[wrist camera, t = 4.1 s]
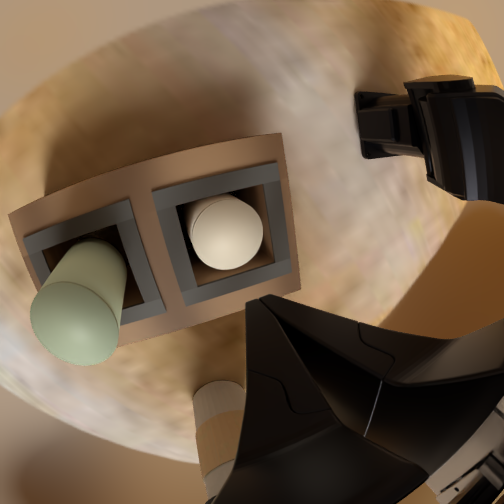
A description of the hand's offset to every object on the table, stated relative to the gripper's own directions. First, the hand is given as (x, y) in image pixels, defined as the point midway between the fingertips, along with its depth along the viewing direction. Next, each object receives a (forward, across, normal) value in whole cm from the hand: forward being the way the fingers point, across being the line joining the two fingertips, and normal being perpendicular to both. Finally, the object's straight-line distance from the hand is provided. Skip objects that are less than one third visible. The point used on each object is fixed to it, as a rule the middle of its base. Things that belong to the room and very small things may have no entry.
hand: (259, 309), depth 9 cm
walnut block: (+13, +3, 0) cm, 14 cm away
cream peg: (+13, -1, 0) cm, 13 cm away
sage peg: (+8, +7, 0) cm, 11 cm away
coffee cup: (+13, +3, +20) cm, 24 cm away
